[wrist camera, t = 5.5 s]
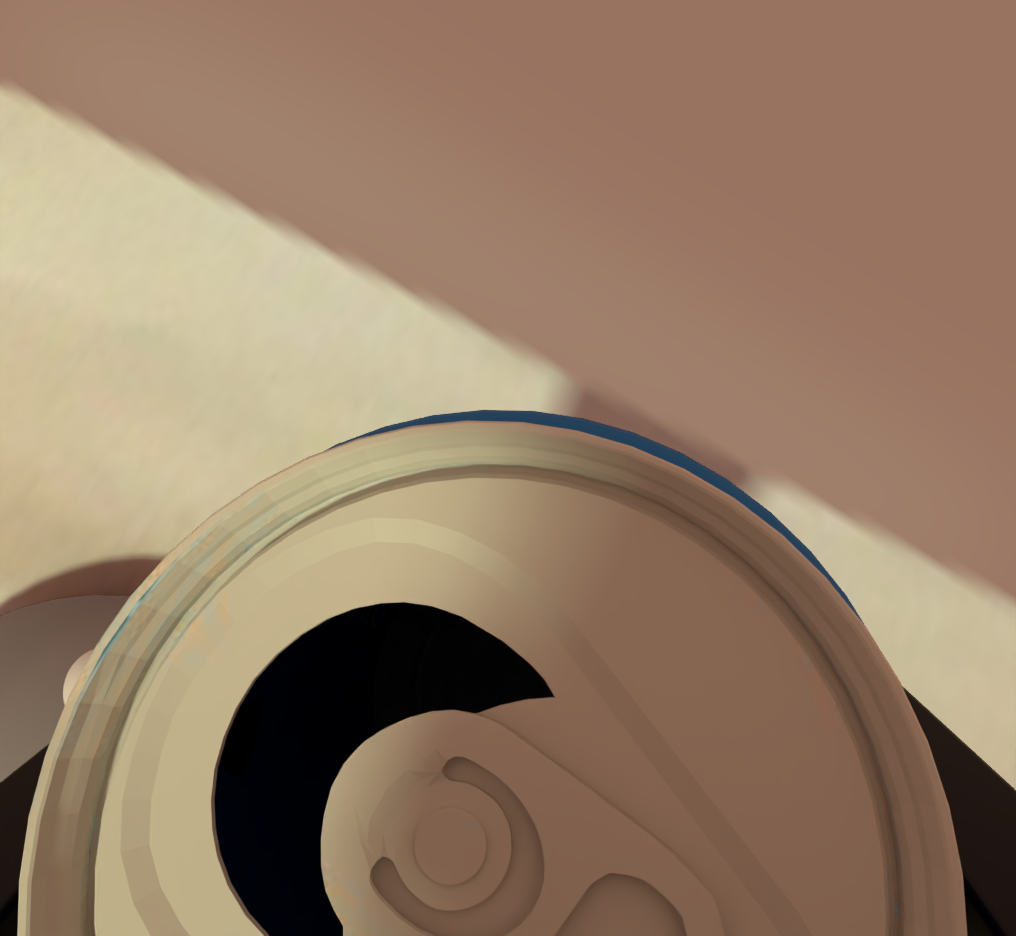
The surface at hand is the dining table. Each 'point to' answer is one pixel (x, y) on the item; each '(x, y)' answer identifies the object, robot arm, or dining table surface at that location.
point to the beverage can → (491, 713)
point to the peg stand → (44, 667)
